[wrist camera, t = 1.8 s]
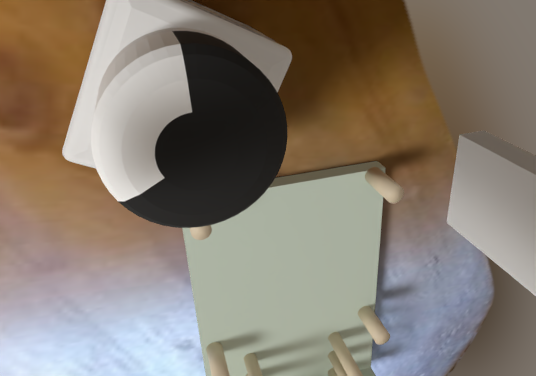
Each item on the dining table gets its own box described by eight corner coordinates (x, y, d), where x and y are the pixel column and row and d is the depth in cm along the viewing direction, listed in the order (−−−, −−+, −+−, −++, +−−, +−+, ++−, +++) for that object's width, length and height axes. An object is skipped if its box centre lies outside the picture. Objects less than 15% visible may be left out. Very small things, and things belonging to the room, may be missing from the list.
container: (253, 28, 26) (349, 82, 15) (205, 148, 29) (257, 272, 18) (117, -34, 23) (110, -22, 12) (75, 107, 26) (38, 226, 15)
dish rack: (176, 191, 30) (190, 255, 23) (377, 158, 33) (436, 206, 26) (210, 404, 39) (226, 489, 33) (364, 363, 42) (405, 434, 36)
